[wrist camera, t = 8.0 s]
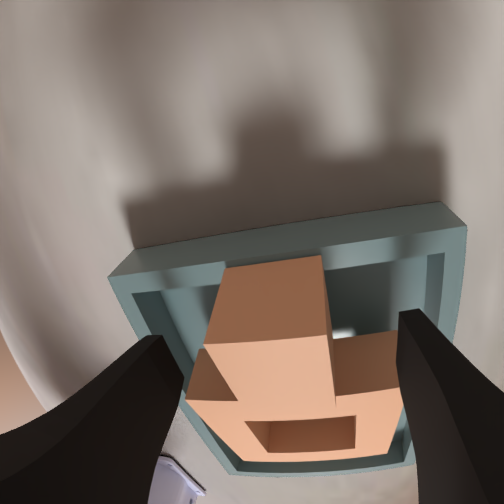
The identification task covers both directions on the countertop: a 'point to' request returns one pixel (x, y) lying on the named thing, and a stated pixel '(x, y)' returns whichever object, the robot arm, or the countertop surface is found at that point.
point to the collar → (292, 370)
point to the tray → (338, 291)
